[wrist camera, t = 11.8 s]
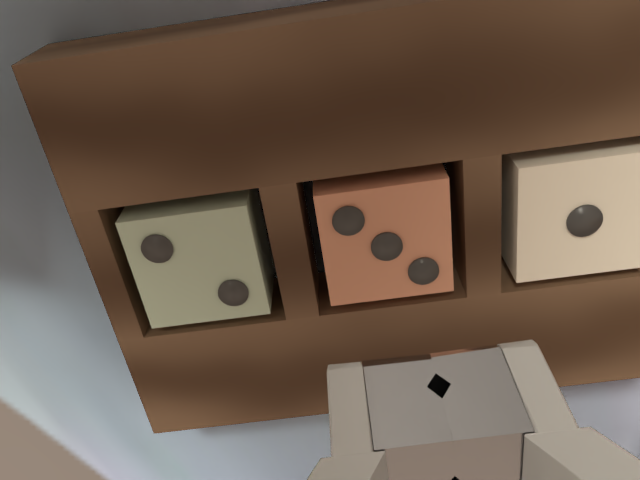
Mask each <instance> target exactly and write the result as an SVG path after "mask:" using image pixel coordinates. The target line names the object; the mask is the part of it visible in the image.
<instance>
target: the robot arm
mask: <svg viewBox="0 0 640 480" xmlns="http://www.w3.org/2000/svg"><path fill="white" fill-rule="evenodd" d="M363 369H364V373H363ZM364 378H365V380H364ZM327 388H328V406H329V425H330V443H331V457H326V458H321V459H320V460H319V462H318V463H317V465H316V466H315V468H314V469H313V471H312V472H311V474H310V476H309V477H308V479H307V480H640V460H639V459H638V458H636V457H635V456H633V455H632V454H630V453H629V452H627V451H626V450H624V449H623V448H621V447H620V446H618V445H617V444H615V443H614V442H612V441H611V440H609V439H608V438H606V437H605V436H603V435H602V434H600V433H599V432H597V431H596V430H594V429H593V428H591V427H583V428H579V427H578V425H577V423H576V421H575V419H574V417H573V415H572V412H571V410H570V408H569V406H568V404H567V402H566V400H565V398H564V396H563V394H562V392H561V390H560V388H559V386H558V384H557V382H556V380H555V378H554V376H553V374H552V372H551V370H550V368H549V366H548V364H547V362H546V360H545V358H544V356H543V354H542V352H541V350H540V348H539V346H538V344H537V343H536V342H535V341H533V340H524V341H517V342H510V343H503V344H498V345H497V346H496V345H489V346H482V347H474V348H467V349H459V350H452V351H445V352H437V353H430V354H424V355H414V356H404V357H394V358H384V359H374V360H364V361H363V366H362V362H352V363H341V364H330V365H328V368H327Z"/></svg>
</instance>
